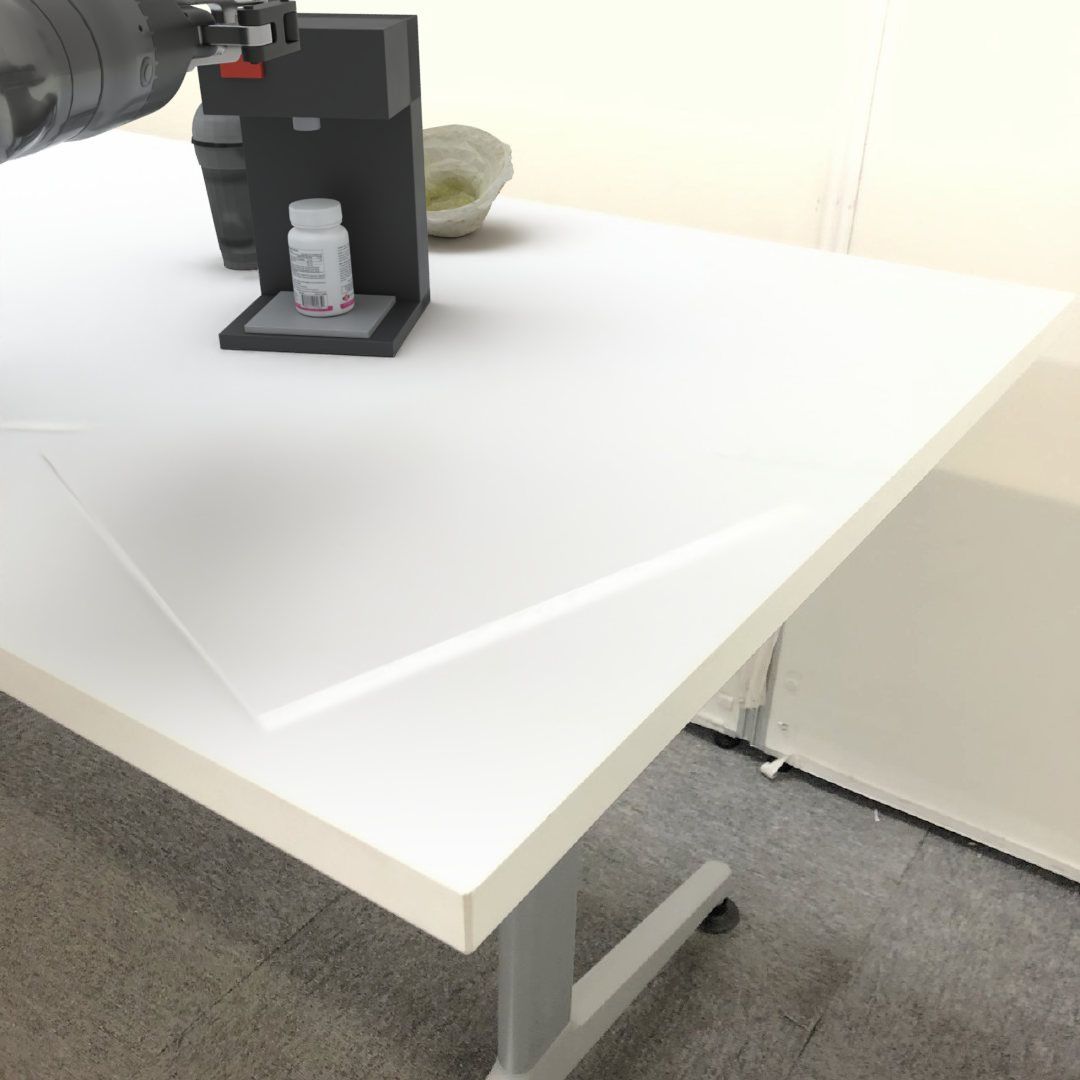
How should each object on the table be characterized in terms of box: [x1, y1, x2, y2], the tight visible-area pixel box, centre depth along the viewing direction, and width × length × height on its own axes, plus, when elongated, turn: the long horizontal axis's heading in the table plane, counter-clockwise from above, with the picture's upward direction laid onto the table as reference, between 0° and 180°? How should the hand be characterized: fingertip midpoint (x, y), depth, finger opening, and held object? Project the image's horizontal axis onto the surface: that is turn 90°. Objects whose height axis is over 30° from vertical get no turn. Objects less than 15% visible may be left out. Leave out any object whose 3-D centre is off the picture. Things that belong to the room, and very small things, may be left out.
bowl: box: [423, 123, 515, 238], centre depth 116 cm, size 15×14×10 cm
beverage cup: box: [190, 102, 258, 271], centre depth 104 cm, size 7×7×20 cm
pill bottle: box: [288, 198, 354, 317], centre depth 89 cm, size 5×5×8 cm
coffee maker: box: [196, 12, 431, 358], centre depth 88 cm, size 14×14×23 cm
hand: (206, 15), depth 66 cm, fingers open, 8 cm apart
